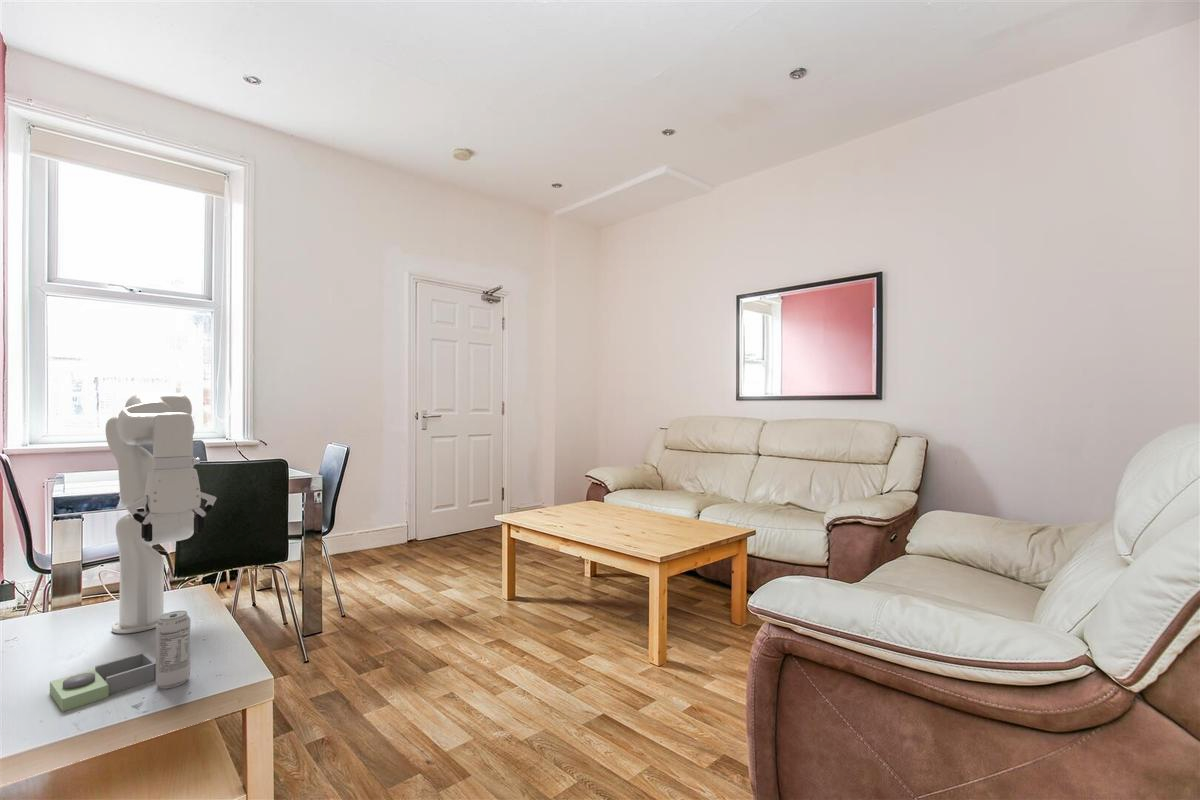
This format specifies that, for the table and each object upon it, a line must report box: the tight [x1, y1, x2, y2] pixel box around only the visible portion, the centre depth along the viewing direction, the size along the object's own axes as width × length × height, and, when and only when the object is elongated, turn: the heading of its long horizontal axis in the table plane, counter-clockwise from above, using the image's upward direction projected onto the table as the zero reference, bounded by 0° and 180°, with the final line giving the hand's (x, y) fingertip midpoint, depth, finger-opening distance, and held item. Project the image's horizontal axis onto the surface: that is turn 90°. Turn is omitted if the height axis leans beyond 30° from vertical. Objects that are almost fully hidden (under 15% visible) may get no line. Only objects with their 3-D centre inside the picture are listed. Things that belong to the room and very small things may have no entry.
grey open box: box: [49, 651, 156, 713], centre depth 119 cm, size 12×16×4 cm
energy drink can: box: [155, 610, 191, 690], centre depth 121 cm, size 6×6×15 cm
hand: (173, 537), depth 129 cm, fingers open, 9 cm apart
